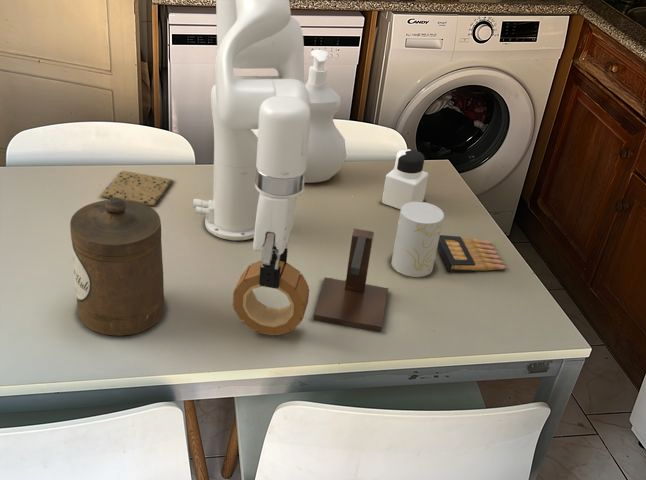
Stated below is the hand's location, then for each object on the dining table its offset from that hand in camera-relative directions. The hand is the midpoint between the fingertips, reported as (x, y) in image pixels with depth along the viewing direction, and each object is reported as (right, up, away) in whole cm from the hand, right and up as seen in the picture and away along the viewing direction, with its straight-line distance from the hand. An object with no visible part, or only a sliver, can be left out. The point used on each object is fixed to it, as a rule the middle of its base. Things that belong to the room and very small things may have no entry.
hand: (272, 276), depth 134 cm
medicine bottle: (+29, +17, +47) cm, 58 cm away
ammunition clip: (+34, +5, +28) cm, 44 cm away
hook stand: (+14, -5, +14) cm, 20 cm away
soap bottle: (+8, +23, +54) cm, 59 cm away
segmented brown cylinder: (0, -4, +3) cm, 4 cm away
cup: (+27, +2, +26) cm, 38 cm away
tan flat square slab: (-30, +19, +44) cm, 56 cm away
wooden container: (-27, -6, +8) cm, 28 cm away
